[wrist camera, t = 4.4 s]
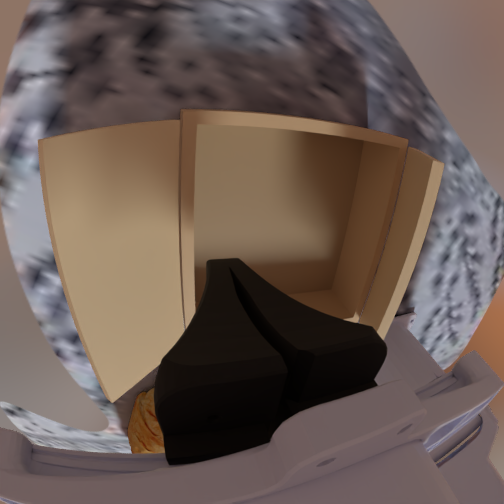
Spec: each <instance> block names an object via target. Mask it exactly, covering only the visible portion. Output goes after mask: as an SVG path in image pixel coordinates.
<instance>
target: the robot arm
mask: <svg viewBox="0 0 504 504" xmlns="http://www.w3.org/2000/svg"><path fill="white" fill-rule="evenodd" d="M416 316H417V314H416V313H415V312H413V313H409V314H405V315H401V316H397V317H394V319H393V321H392V323H391V325H390V327H389V330H388V332H387V334H386V336H385V338H384V340H383V339H382V338H381V337H380V336H379V334H378V333H377V332H376V330H375V329H374V328H373V327H372V326H369V325H364V324H360V323H355V322H351V321H347V320H343V319H340V318H337V317H334V316H331V315H328V314H325V313H323V312H320V311H318V310H316V309H313V308H311V307H309V306H307V305H304V304H302V303H300V302H299V301H297V300H295V299H293V298H291V297H290V296H288V295H286V294H285V293H283V292H281V291H280V290H279V289H277V288H276V287H274V286H273V285H271V284H270V283H269V282H267V281H266V280H265V279H263V278H262V277H261V276H259V275H258V274H257V273H256V272H255V271H253V270H252V269H251V268H250V267H249V266H247V265H246V264H245V263H244V262H243V261H242V260H240V259H239V258H226V259H209V260H208V261H207V262H206V283H205V288H204V291H203V294H202V297H201V300H200V303H199V305H198V308H197V310H196V312H195V314H194V316H193V318H192V320H191V322H190V323H189V325H188V327H187V328H186V330H185V331H184V333H183V334H182V336H181V337H180V338H179V340H178V341H177V342H176V344H175V345H174V346H173V347H172V348H171V349H170V350H169V352H168V353H167V354H166V355H165V356H164V357H163V358H162V360H161V363H160V366H159V370H158V373H157V377H156V381H155V387H154V407H155V415H156V418H157V421H158V423H159V426H160V429H161V431H162V434H163V441H164V449H165V453H147V454H122V453H98V452H85V451H74V450H66V449H58V448H51V447H45V446H39V445H33V444H31V442H30V441H29V440H28V439H27V438H26V437H25V436H24V435H22V434H20V433H19V432H16V431H13V430H8V429H4V428H0V500H1V501H3V502H5V503H7V504H504V480H503V479H502V477H501V476H500V474H499V473H498V471H497V470H496V468H495V467H494V465H493V464H492V462H491V461H490V459H489V455H490V452H491V449H492V447H493V444H494V441H495V439H496V436H497V433H498V429H499V427H498V425H497V424H498V420H497V418H496V417H495V416H494V414H493V413H492V412H491V408H490V407H489V405H488V403H489V402H490V401H491V400H492V399H493V398H494V397H495V395H496V394H497V393H498V392H499V390H501V388H502V387H503V386H504V383H503V381H502V380H501V379H500V378H499V377H498V375H497V374H496V373H495V372H494V371H493V370H492V369H491V368H490V366H489V365H488V364H487V363H486V362H485V361H484V360H483V358H482V357H481V356H480V355H479V354H478V353H477V352H476V351H475V350H473V351H472V352H470V353H468V354H466V355H465V356H463V357H462V358H460V359H459V360H458V361H457V363H456V364H455V365H454V367H453V369H452V371H451V372H449V373H447V374H446V373H445V372H444V371H443V370H442V369H441V367H440V366H439V365H438V364H437V363H436V361H435V360H434V359H433V358H432V357H431V355H430V354H429V353H428V352H427V351H426V349H425V348H424V347H423V346H422V345H421V344H420V342H419V341H418V340H417V339H416V338H415V337H414V336H413V334H412V333H411V332H410V329H411V327H412V325H413V323H414V321H415V318H416ZM479 414H480V415H481V416H480V415H479ZM479 426H480V428H479V430H478V431H477V432H476V433H475V434H474V435H473V436H472V437H471V438H470V439H469V440H467V441H466V442H465V443H464V444H463V445H461V446H460V447H459V448H458V449H457V450H455V451H454V452H453V453H452V454H450V455H449V456H448V457H446V458H445V459H444V460H442V461H441V462H439V463H437V464H435V462H437V461H438V460H439V459H440V458H442V457H443V456H445V455H446V454H447V453H448V452H450V451H451V450H452V449H453V448H455V447H456V446H457V445H458V444H460V443H461V442H462V441H463V440H464V439H466V438H467V437H468V436H469V435H470V434H471V433H473V432H474V431H475V430H476V429H477V428H478V427H479Z"/></svg>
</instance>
